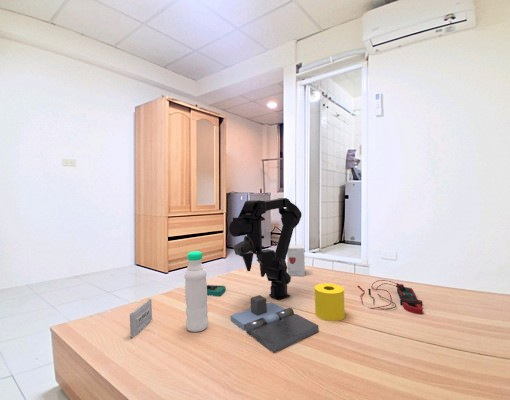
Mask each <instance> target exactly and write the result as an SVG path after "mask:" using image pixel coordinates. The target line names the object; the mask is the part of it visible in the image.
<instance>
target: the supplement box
mask: <svg viewBox="0 0 510 400" xmlns="http://www.w3.org/2000/svg"><path fill="white" fill-rule="evenodd" d="M286 260H287V262H286V265H287V273H288V274H289V275H290V276H291V277H305V276H306V275H305V273H306V272H305V264H306V263H305V245H304V244H289V248H288V252H287V256H286Z"/></svg>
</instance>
